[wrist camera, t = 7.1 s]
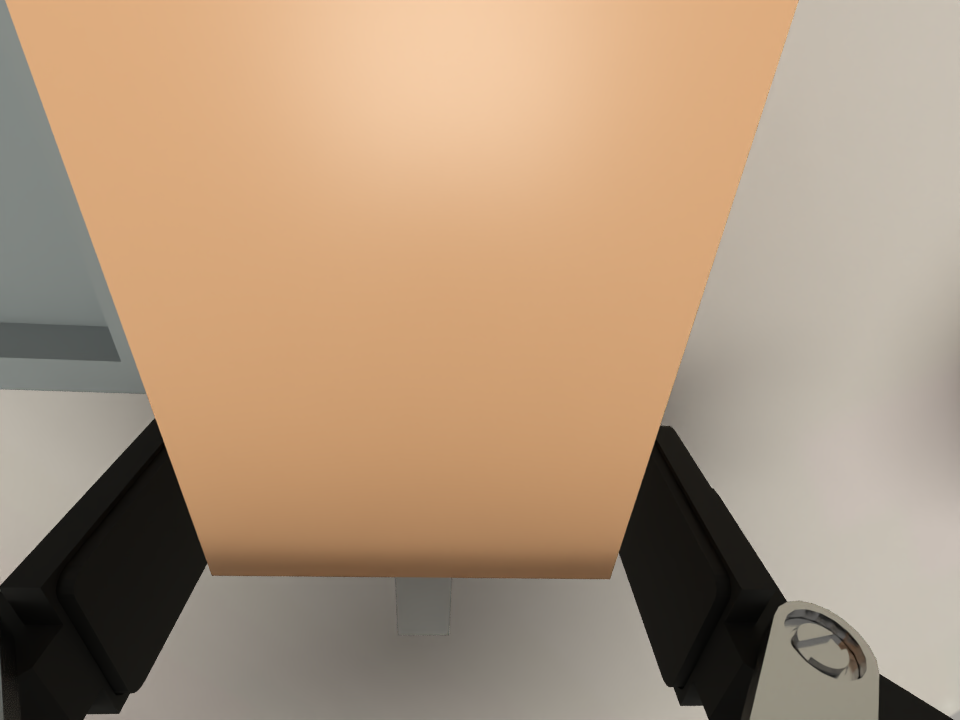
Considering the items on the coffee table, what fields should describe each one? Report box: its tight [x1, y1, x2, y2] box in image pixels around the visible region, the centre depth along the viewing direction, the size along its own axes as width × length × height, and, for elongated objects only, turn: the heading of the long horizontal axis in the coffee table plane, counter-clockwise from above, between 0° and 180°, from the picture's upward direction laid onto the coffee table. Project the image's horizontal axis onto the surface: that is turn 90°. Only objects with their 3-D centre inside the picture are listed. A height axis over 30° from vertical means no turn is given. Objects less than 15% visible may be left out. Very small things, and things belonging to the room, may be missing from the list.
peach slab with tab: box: [5, 0, 799, 635], centre depth 8 cm, size 11×5×7 cm, turn 176°
